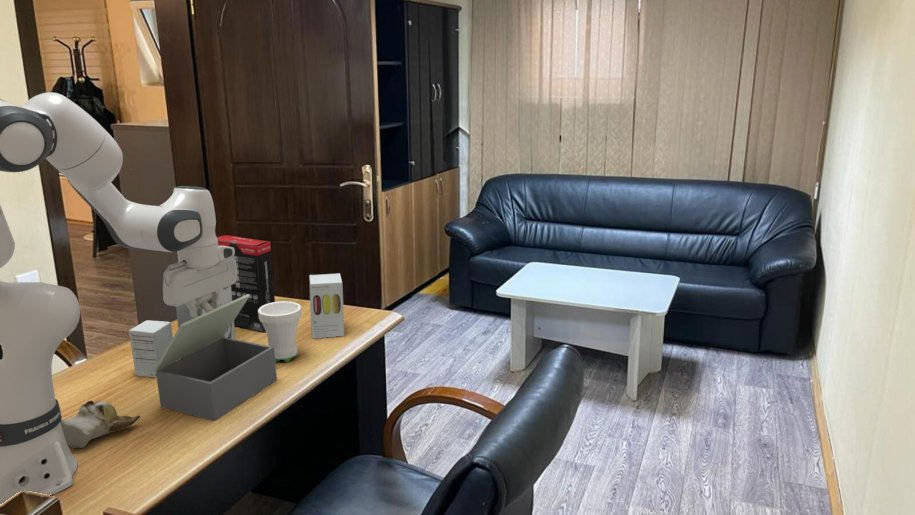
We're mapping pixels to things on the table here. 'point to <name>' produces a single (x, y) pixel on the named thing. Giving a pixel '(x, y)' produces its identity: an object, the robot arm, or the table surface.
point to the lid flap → (201, 329)
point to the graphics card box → (251, 278)
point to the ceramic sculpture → (93, 423)
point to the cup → (281, 327)
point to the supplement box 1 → (149, 345)
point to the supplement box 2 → (326, 305)
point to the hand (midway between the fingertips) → (204, 312)
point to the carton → (216, 378)
